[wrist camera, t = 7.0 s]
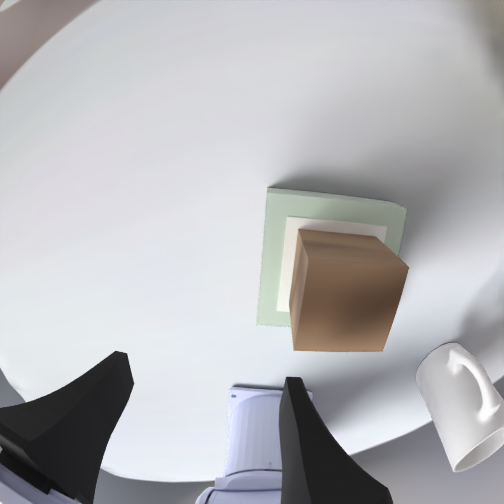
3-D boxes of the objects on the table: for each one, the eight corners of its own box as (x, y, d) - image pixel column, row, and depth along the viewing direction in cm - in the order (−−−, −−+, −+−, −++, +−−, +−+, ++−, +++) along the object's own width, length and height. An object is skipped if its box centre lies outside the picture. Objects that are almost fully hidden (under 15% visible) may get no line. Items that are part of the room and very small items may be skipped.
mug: (462, 372, 24) (506, 446, 13) (412, 396, 25) (447, 480, 14) (468, 304, 21) (539, 382, 10) (410, 331, 22) (469, 432, 11)
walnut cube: (360, 306, 19) (382, 351, 14) (288, 302, 19) (293, 350, 14) (375, 236, 17) (409, 267, 12) (298, 228, 17) (308, 259, 12)
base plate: (368, 312, 22) (378, 330, 19) (257, 306, 22) (256, 325, 20) (392, 201, 19) (407, 209, 16) (267, 187, 19) (266, 193, 16)
